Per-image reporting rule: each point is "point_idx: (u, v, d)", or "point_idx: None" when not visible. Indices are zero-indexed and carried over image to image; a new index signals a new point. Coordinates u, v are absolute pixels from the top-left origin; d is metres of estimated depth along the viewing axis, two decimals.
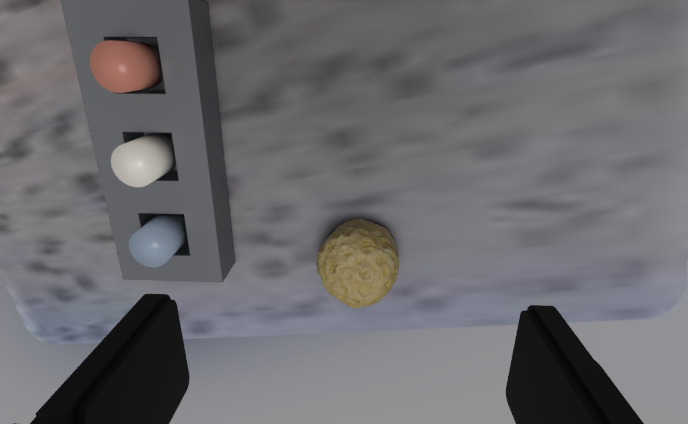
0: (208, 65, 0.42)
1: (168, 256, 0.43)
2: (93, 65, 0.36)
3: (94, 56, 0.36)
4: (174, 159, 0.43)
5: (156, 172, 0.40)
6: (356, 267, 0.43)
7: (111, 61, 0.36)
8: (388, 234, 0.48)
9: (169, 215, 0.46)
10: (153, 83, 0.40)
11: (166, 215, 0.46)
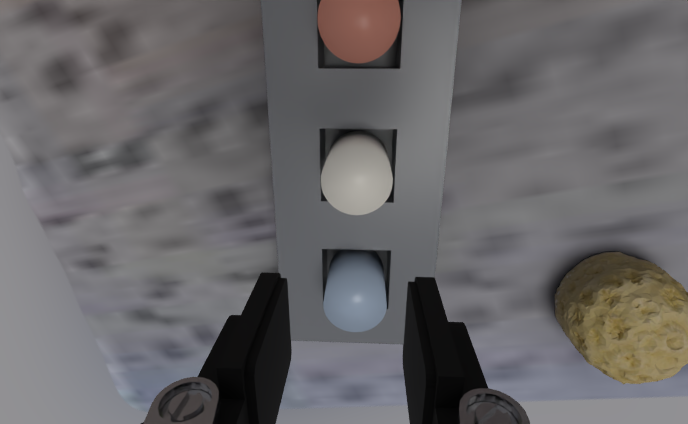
0: None
1: (382, 317, 0.28)
2: (323, 16, 0.21)
3: (328, 0, 0.21)
4: None
5: (389, 192, 0.25)
6: (660, 332, 0.29)
7: (355, 8, 0.21)
8: None
9: (363, 251, 0.31)
10: None
11: (360, 251, 0.31)
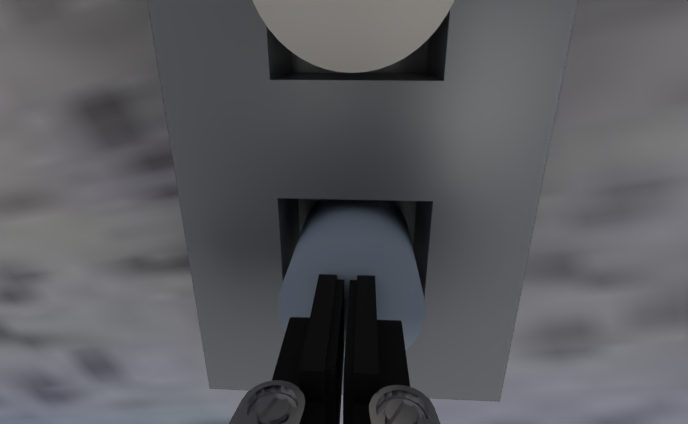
0: None
1: (413, 336, 0.12)
2: None
3: None
4: None
5: None
6: None
7: None
8: None
9: None
10: None
11: None
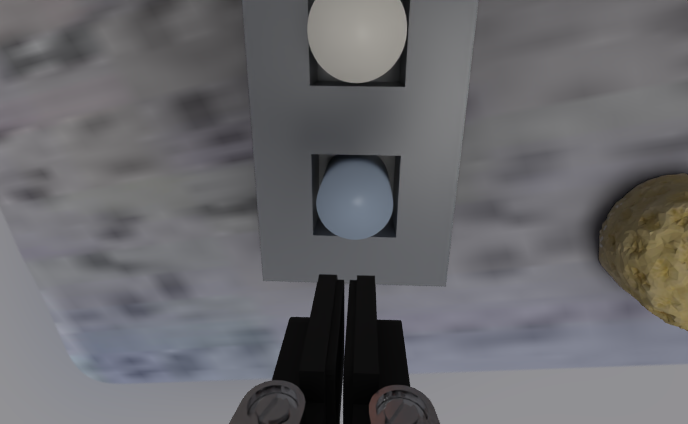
0: None
1: (387, 219, 0.23)
2: None
3: None
4: None
5: (402, 49, 0.18)
6: None
7: None
8: None
9: None
10: None
11: None
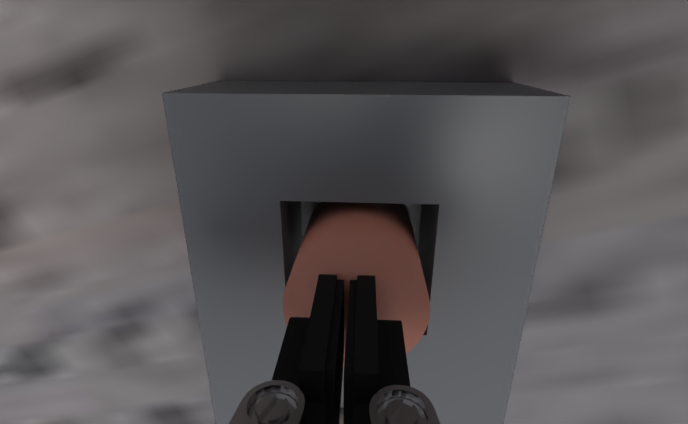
0: None
1: None
2: (292, 304, 0.12)
3: (300, 283, 0.12)
4: None
5: None
6: None
7: None
8: None
9: None
10: None
11: None
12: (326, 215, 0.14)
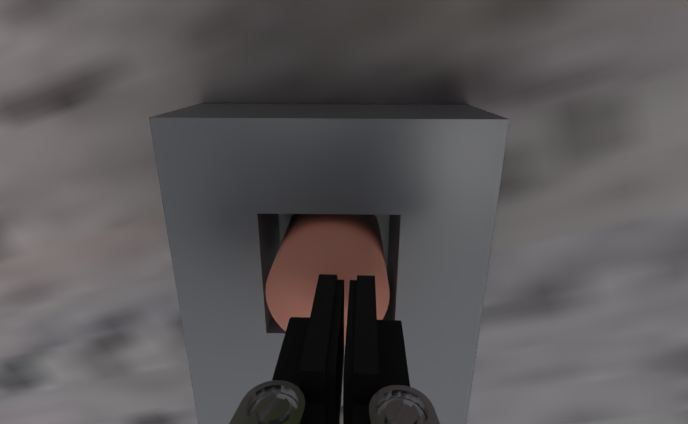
0: None
1: None
2: (274, 291, 0.14)
3: (280, 272, 0.14)
4: None
5: None
6: None
7: None
8: None
9: None
10: None
11: None
12: (303, 217, 0.16)
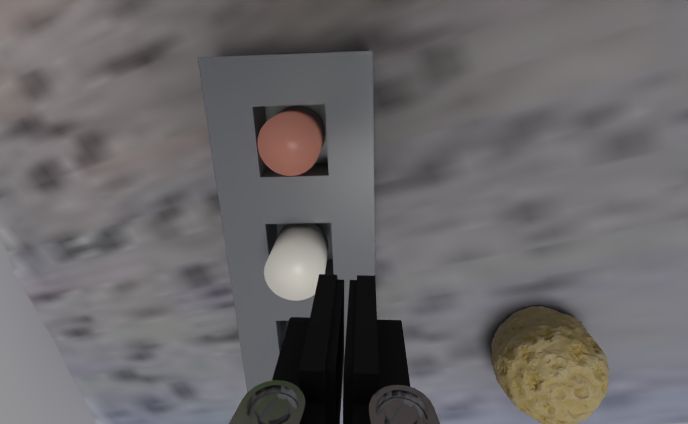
0: None
1: None
2: (261, 144, 0.28)
3: (264, 133, 0.28)
4: None
5: None
6: (569, 383, 0.33)
7: (285, 138, 0.28)
8: (583, 327, 0.38)
9: None
10: None
11: None
12: None
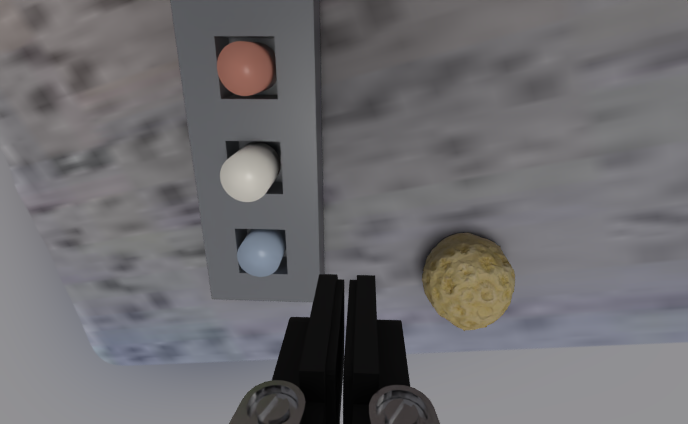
0: (318, 67, 0.38)
1: (277, 265, 0.41)
2: (220, 67, 0.34)
3: (222, 57, 0.34)
4: (278, 170, 0.40)
5: (269, 186, 0.36)
6: (477, 288, 0.40)
7: (239, 63, 0.34)
8: (500, 250, 0.44)
9: None
10: (270, 85, 0.38)
11: None
12: None
